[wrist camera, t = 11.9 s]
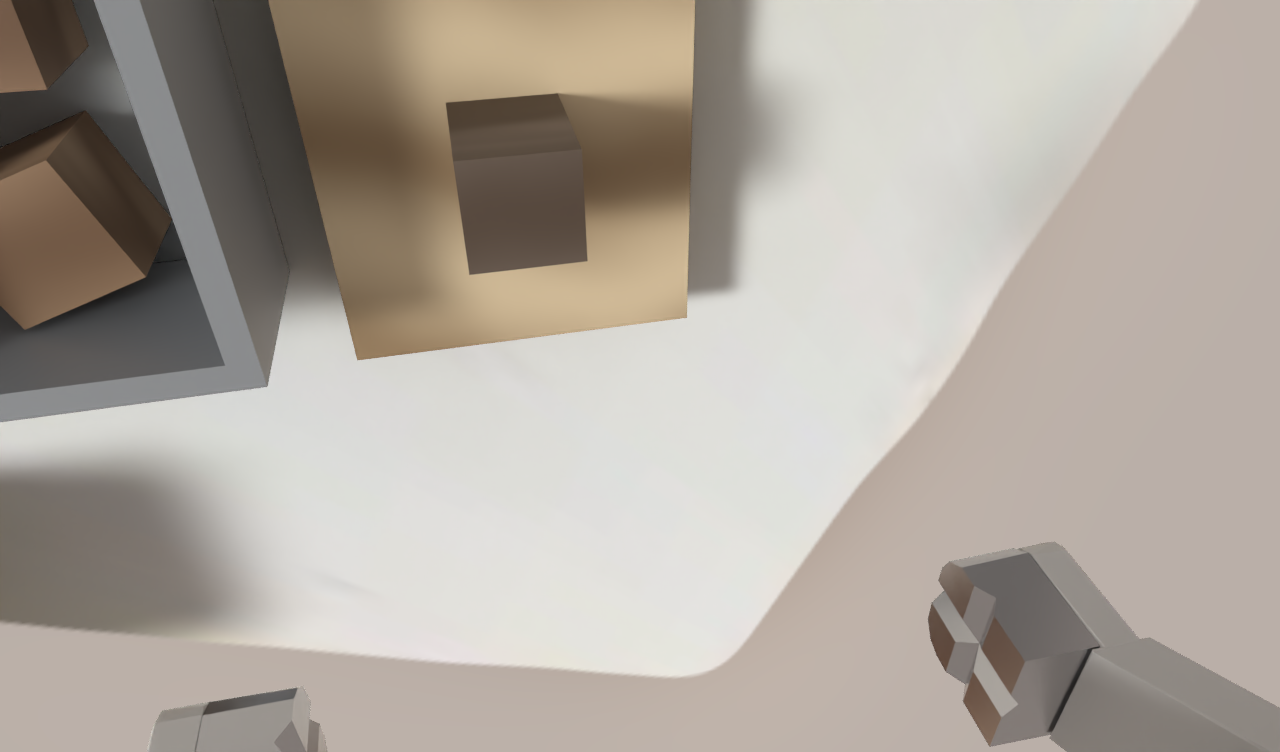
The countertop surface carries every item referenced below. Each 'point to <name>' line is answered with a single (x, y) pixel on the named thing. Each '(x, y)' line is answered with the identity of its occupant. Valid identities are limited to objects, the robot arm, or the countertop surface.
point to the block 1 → (37, 42)
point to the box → (207, 228)
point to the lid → (496, 162)
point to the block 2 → (71, 221)
